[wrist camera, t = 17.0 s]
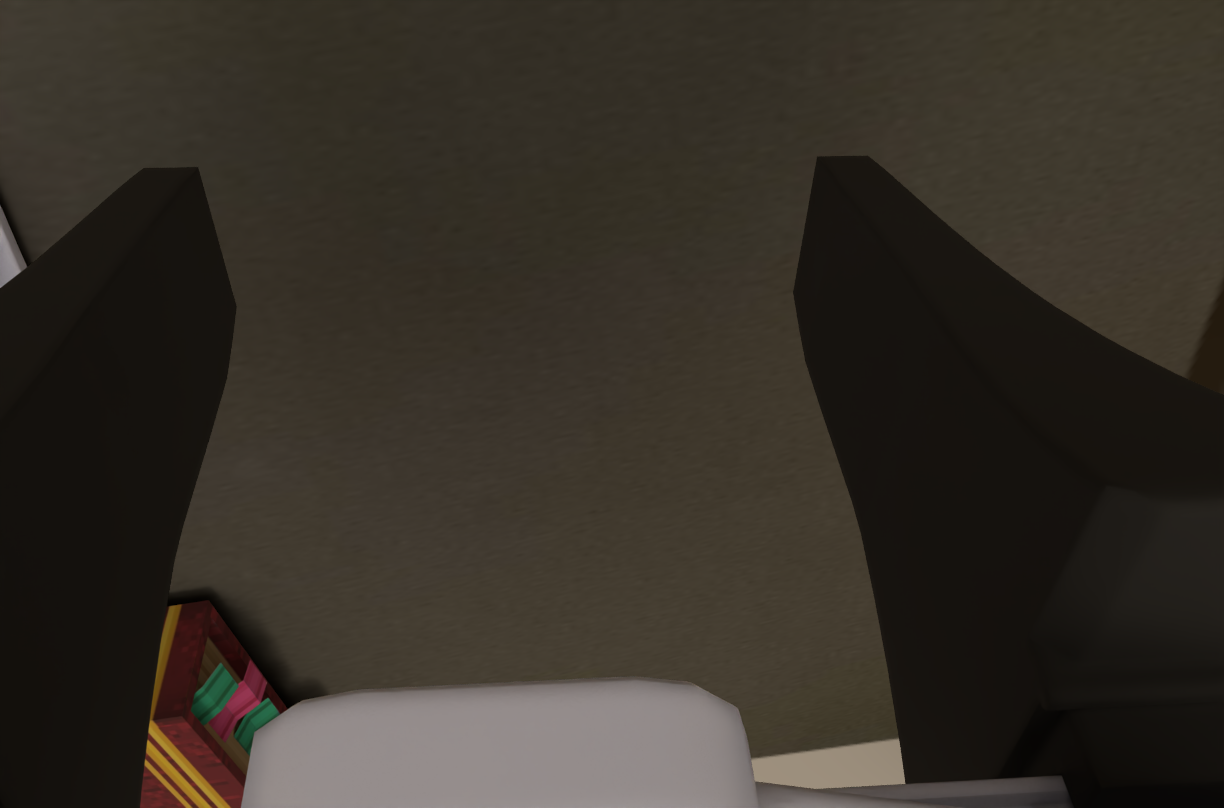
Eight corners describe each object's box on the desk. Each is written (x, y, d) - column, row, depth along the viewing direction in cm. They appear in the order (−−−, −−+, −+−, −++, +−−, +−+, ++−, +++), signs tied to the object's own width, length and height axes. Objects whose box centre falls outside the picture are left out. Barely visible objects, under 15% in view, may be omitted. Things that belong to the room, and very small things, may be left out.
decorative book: (-258, 651, 34) (-349, 809, 30) (250, 573, 33) (219, 726, 29) (-45, 813, 42) (-96, 953, 38) (369, 755, 41) (356, 892, 37)
